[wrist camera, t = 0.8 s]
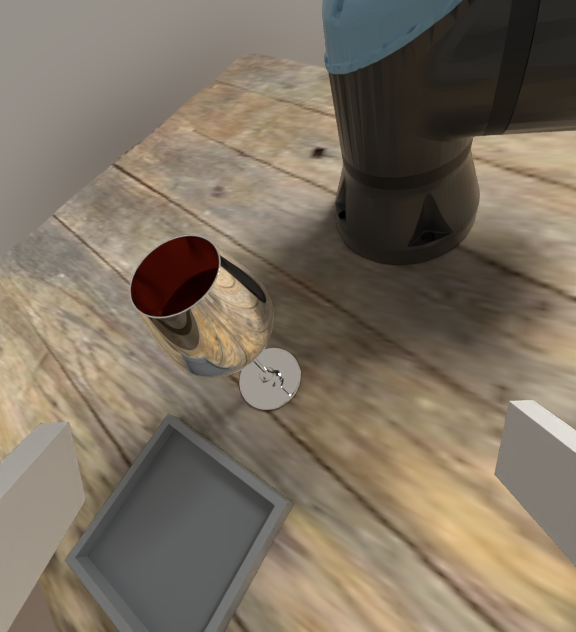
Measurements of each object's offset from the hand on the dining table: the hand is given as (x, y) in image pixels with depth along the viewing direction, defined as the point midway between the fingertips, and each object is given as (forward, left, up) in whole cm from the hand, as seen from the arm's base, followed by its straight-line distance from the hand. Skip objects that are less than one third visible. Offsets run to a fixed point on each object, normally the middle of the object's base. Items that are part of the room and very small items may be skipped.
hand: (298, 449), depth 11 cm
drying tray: (+11, -11, -21) cm, 26 cm away
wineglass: (-4, -12, -21) cm, 25 cm away
